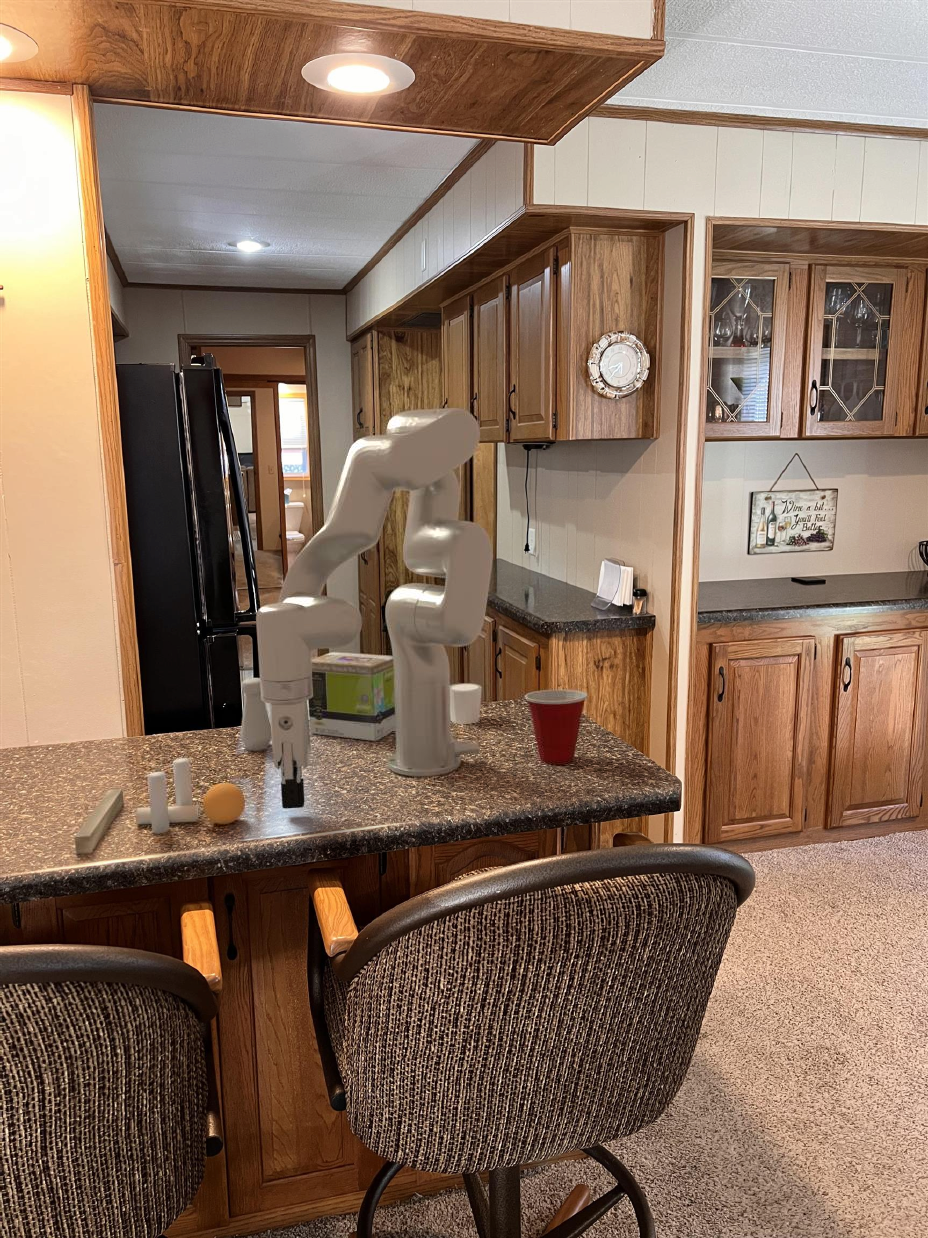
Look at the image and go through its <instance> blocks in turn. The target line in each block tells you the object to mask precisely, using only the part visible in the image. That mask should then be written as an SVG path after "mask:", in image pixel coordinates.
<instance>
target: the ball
mask: <svg viewBox="0 0 928 1238" xmlns="http://www.w3.org/2000/svg"><path fill="white" fill-rule="evenodd" d="M245 799H246V798H245V796H244V793H243V792H242V790H241V789H240V787H238V786H237V785H235V784H233V783H231V782H221V783H216V784H214V785H213V786H211V787H210V788H209V789H208V790H207V791H206V792H205V794H204V797H203V801H202V807H203V812H204V814H205V816H206V817H207V818H208V820H210V821H211V822H213V823H214V824H215V823H216V824H219V825H228V824H231V823H233V822H235V821H236V820H238V819H239V818H240V816H241V815H242V814H243V812H244V811H245V810H244V809H245V805H246V800H245Z"/></svg>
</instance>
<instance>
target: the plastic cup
mask: <svg viewBox="0 0 928 1238" xmlns="http://www.w3.org/2000/svg"><path fill="white" fill-rule="evenodd" d="M588 695H589V694H588V693H587V692H585V691H582V690H575V689H574V690H573V689H545V690H536V691H532V692H529V693H526V694H525V695H524V699H525V700H526V702H527V705H528V708H529V711H530V715H531V720H532V725H533V731H534V736H535V737H534V738H535V741H536V744H537V750H538V756H539V758H540V759H541V760H540V759H539V760H540V761H541V762H542V761H543V762H542V763H544V762H545V763H544V764H546V763H548V765H551V764H564V765H568V764H570V763H572V762H573V761H572V760H574V757H575V754H576V746H577V743H578V737H579V734H580V733H579V731H580V725H581V720H582V713H583V711H584V710H583V708H584V705H585V702H586V699H587V698H588ZM571 761H572V762H571ZM569 762H570V763H569ZM567 763H568V764H567Z"/></svg>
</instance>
